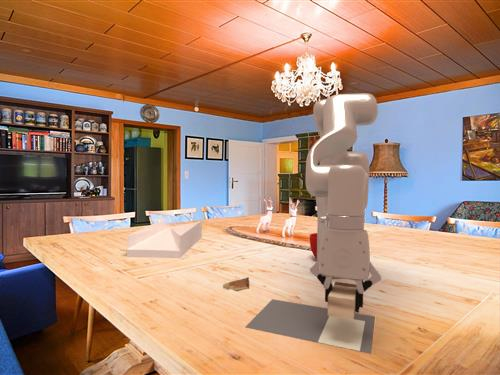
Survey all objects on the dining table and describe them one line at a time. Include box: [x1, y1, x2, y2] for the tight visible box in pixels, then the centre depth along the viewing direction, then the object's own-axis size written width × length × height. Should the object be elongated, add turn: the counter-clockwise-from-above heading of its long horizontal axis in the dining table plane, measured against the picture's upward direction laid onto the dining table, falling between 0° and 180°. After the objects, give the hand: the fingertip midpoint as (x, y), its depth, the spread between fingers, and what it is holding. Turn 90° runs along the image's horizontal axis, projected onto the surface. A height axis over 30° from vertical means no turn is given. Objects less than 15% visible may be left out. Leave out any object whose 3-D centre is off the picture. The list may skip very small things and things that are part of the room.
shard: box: [222, 277, 250, 292], centre depth 100 cm, size 11×8×2 cm
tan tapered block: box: [327, 281, 357, 320], centre depth 70 cm, size 10×5×4 cm, turn 157°
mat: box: [245, 298, 376, 355], centre depth 75 cm, size 18×26×1 cm
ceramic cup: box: [309, 232, 317, 260], centre depth 132 cm, size 13×17×10 cm
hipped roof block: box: [126, 220, 203, 259], centre depth 156 cm, size 45×22×10 cm, turn 177°
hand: (343, 306), depth 70 cm, fingers closed on tan tapered block, 5 cm apart
